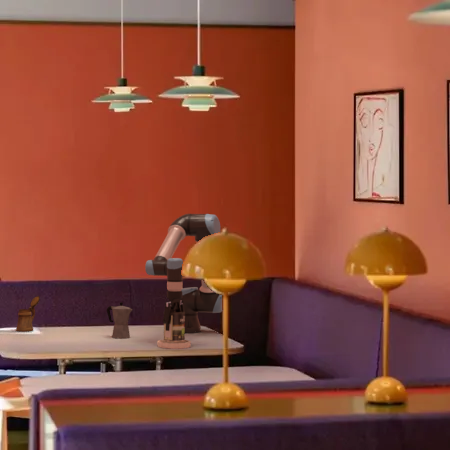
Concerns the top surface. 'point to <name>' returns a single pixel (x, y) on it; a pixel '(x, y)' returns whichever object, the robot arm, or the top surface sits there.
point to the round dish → (174, 344)
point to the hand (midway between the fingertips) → (174, 336)
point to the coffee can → (176, 327)
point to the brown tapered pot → (27, 317)
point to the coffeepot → (120, 321)
